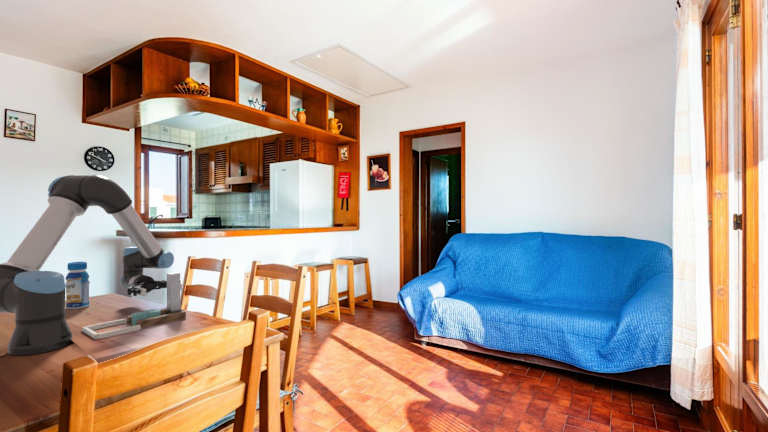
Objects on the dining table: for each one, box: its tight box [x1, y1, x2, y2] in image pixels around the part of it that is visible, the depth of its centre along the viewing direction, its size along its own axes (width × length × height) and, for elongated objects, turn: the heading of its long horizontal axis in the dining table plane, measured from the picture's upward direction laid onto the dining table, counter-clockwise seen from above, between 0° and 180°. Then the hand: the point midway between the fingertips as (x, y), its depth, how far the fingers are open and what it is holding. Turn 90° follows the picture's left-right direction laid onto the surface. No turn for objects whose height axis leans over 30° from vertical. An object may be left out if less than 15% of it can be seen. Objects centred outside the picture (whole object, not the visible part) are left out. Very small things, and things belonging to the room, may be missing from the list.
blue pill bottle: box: [65, 261, 91, 310], centre depth 169 cm, size 8×8×20 cm
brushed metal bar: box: [165, 271, 183, 314], centre depth 147 cm, size 4×6×17 cm, turn 53°
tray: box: [81, 317, 142, 340], centre depth 130 cm, size 13×14×3 cm
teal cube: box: [131, 310, 148, 326], centre depth 137 cm, size 4×4×4 cm
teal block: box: [143, 308, 161, 318], centre depth 141 cm, size 4×4×4 cm
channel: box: [126, 308, 187, 329], centre depth 142 cm, size 16×11×4 cm
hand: (163, 289), depth 152 cm, fingers open, 13 cm apart
